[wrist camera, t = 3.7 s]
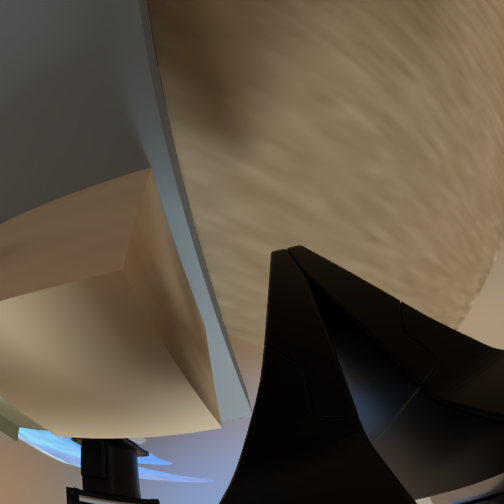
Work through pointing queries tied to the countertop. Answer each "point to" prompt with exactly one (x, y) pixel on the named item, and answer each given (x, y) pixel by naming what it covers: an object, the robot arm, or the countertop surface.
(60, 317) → the maple block
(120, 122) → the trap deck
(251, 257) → the countertop surface
